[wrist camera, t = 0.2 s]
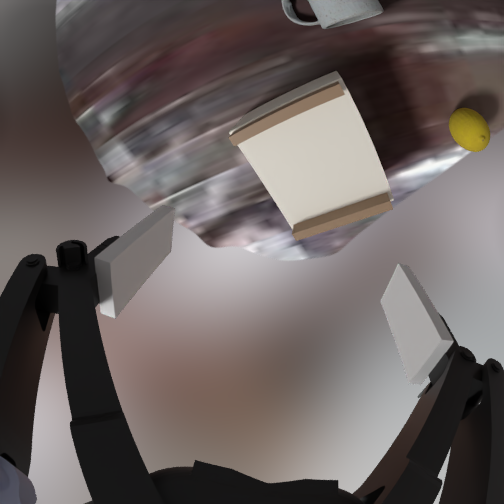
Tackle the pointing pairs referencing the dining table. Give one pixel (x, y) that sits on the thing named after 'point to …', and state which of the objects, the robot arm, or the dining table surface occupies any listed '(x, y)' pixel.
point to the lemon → (469, 129)
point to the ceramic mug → (336, 11)
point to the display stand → (315, 157)
